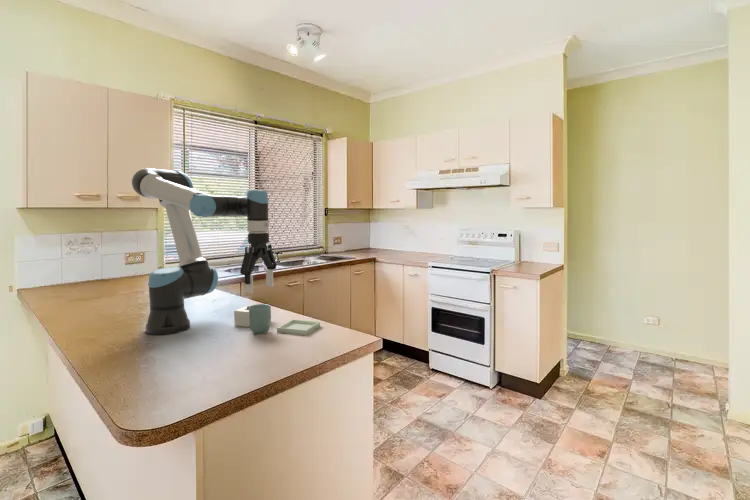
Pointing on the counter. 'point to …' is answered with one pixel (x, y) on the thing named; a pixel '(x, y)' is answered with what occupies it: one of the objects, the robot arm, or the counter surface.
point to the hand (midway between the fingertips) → (260, 289)
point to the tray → (298, 327)
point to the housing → (242, 317)
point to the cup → (260, 318)
